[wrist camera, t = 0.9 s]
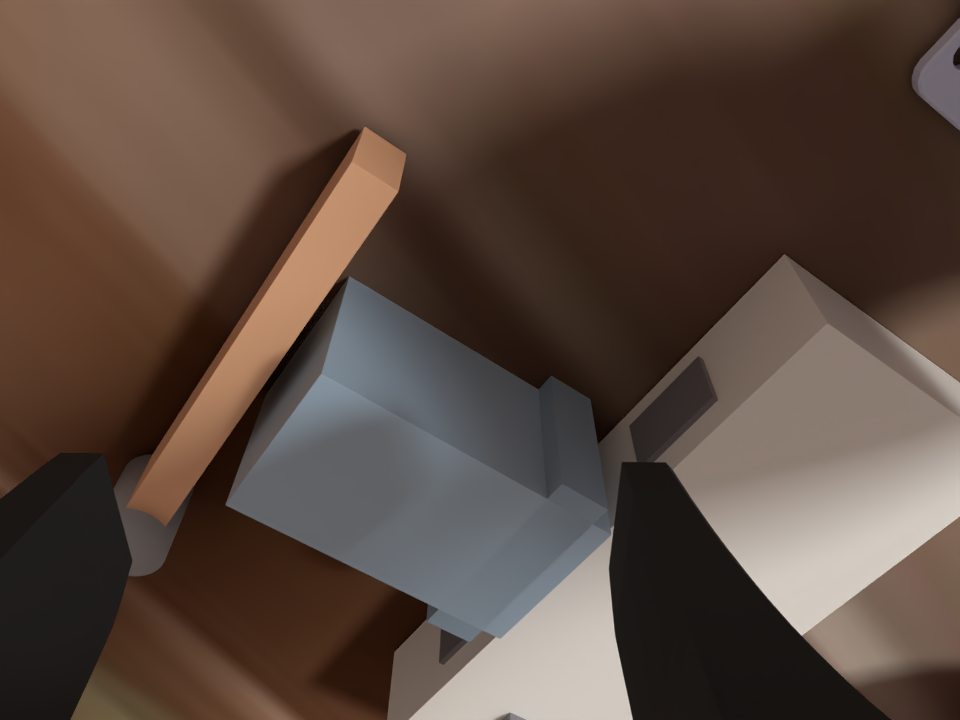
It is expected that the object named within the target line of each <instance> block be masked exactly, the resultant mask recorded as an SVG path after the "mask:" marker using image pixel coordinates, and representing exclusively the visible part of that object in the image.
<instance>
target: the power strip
mask: <svg viewBox="0 0 960 720" xmlns="http://www.w3.org/2000/svg"><path fill="white" fill-rule="evenodd" d="M598 449H599V455H600V462H601V468H602V474H603V480H604V486H605V493H606V499H607V505H608V516H609V522H610V528H611V536H610V537H609V538H608V539H607V540H606V541H604V542H603V543H602V544H601V545H600V546H599V547H598V548H597V549H596V550H595V551H594V552H593V553H592V554H591V555H589V556H588V557H587V558H586V559H585V560H584V561H583V562H582V563H581V564H580V565H579V566H578V567H577V568H576V569H575V570H573V571H572V572H571V573H570V574H569V575H568V576H567V577H566V578H565V579H564V580H563V581H562V582H561V583H560V584H559V585H557V586H556V587H555V588H554V589H553V590H552V591H551V592H550V593H549V594H548V595H547V596H546V597H545V598H544V599H543V600H541V601H540V602H539V603H538V604H537V605H536V606H535V607H534V608H533V609H532V610H531V611H530V612H529V613H528V614H527V615H525V616H524V617H523V618H522V619H521V620H520V621H519V622H518V623H517V624H516V625H515V626H514V627H513V628H512V629H511V630H509V631H508V632H507V633H506V634H505V635H504V636H503V637H502V638H501V639H499V638H497V637H495V636H493V635H491V634H489V633H487V632H485V631H483V630H482V631H481V632H480V633H479V634H478V635H477V636H476V637H475V638H474V639H473V640H472V641H471V642H468V641H466V640H464V639H462V638H460V637H458V636H456V635H453V634H451V633H449V632H447V631H445V630H443V629H441V628H439V627H437V626H435V625H433V624H430V623H428V622H427V619H426V620H425V621H424V622H423V623H422V624H421V625H420V626H419V628H418V629H417V630H416V631H415V632H414V633H413V634H412V635H411V636H410V637H409V638H408V639H407V640H406V641H405V642H404V643H403V644H402V645H401V646H400V647H399V648H398V649H397V650H396V651H395V652H394V660H393V670H392V679H391V688H390V697H389V706H388V716H387V720H633V718H632V714H631V709H630V704H629V700H628V695H627V690H626V686H625V681H624V676H623V671H622V667H621V662H620V657H619V652H618V648H617V643H616V638H615V631H614V621H613V611H612V600H611V589H610V578H609V562H610V553H611V545H612V537H613V529H614V521H615V513H616V505H617V497H618V489H619V481H620V473H621V465H622V462H666V463H667V464H668V465H669V466H670V467H671V468H672V469H673V471H674V472H675V474H676V476H677V477H678V479H679V480H680V482H681V483H682V485H683V486H684V488H685V489H686V491H687V492H688V494H689V495H690V497H691V498H692V500H693V501H694V503H695V504H696V506H697V507H698V508H699V510H700V511H701V513H702V514H703V516H704V517H705V518H706V520H707V521H708V523H709V524H710V525H711V527H712V528H713V530H714V531H715V532H716V534H717V535H718V536H719V538H720V539H721V540H722V542H723V543H724V544H725V546H726V547H727V548H728V550H729V551H730V552H731V553H732V555H733V556H734V557H735V558H736V560H737V561H738V562H739V563H740V565H741V566H742V567H743V569H744V570H745V571H746V572H747V574H748V575H749V576H750V577H751V579H752V580H753V581H754V582H755V584H756V585H757V586H758V587H759V588H760V590H761V591H762V592H763V593H764V594H765V596H766V597H767V598H768V599H769V600H770V601H771V602H772V604H773V605H774V606H775V607H776V608H777V609H778V610H779V611H780V613H781V614H782V615H783V616H784V617H785V618H786V619H787V621H788V622H789V623H790V624H791V625H792V626H793V627H794V628H795V629H796V630H797V631H798V632H799V634H800V635H801V636H802V635H803V634H804V633H806V632H807V631H808V630H810V629H811V628H812V627H814V626H815V625H816V624H817V623H819V622H820V621H821V620H823V619H824V618H825V617H827V616H828V615H829V614H831V613H832V612H833V611H835V610H836V609H837V608H839V607H840V606H841V605H843V604H844V603H845V602H847V601H848V600H849V599H851V598H852V597H853V596H855V595H856V594H857V593H859V592H860V591H861V590H863V589H864V588H865V587H867V586H868V585H869V584H871V583H872V582H873V581H875V580H876V579H877V578H878V577H880V576H881V575H882V574H884V573H885V572H886V571H888V570H889V569H890V568H892V567H893V566H894V565H896V564H897V563H898V562H900V561H901V560H902V559H904V558H905V557H906V556H908V555H909V554H910V553H912V552H913V551H914V550H916V549H917V548H918V547H920V546H921V545H922V544H924V543H925V542H926V541H928V540H929V539H930V538H932V537H933V536H934V535H936V534H937V533H938V532H939V531H941V530H942V529H943V528H945V527H946V526H947V525H949V524H950V523H951V522H953V521H954V520H955V519H957V518H958V517H959V516H960V383H959V382H958V381H957V380H955V379H954V378H953V377H951V376H950V375H949V374H947V373H946V372H944V371H943V370H942V369H940V368H939V367H938V366H936V365H935V364H934V363H932V362H931V361H929V360H928V359H927V358H925V357H924V356H923V355H921V354H920V353H919V352H917V351H916V350H914V349H913V348H912V347H910V346H909V345H908V344H906V343H905V342H903V341H902V340H901V339H899V338H898V337H897V336H895V335H894V334H893V333H891V332H890V331H888V330H887V329H886V328H884V327H883V326H882V325H880V324H879V323H878V322H876V321H875V320H873V319H872V318H871V317H869V316H868V315H867V314H865V313H864V312H863V311H861V310H860V309H858V308H857V307H856V306H854V305H853V304H852V303H850V302H849V301H848V300H846V299H845V298H843V297H842V296H841V295H839V294H838V293H837V292H835V291H834V290H832V289H831V288H830V287H828V286H827V285H826V284H824V283H823V282H822V281H820V280H819V279H817V278H816V277H815V276H813V275H812V274H811V273H809V272H808V271H807V270H805V269H804V268H802V267H801V266H800V265H798V264H797V263H796V262H794V261H793V260H792V259H790V258H789V257H787V256H786V255H785V254H784V255H783V256H782V257H781V258H780V259H779V260H778V261H777V262H776V263H775V264H774V265H773V266H772V267H771V268H770V269H769V270H768V271H767V272H766V273H765V274H764V275H763V276H762V277H761V278H760V279H759V280H758V282H757V283H756V284H755V285H754V286H753V287H752V288H751V289H750V290H749V291H748V292H747V293H746V294H745V295H744V296H743V297H742V298H741V299H740V300H739V301H738V302H737V303H736V304H735V305H734V306H733V307H732V308H731V309H730V310H729V311H728V312H727V313H726V314H725V315H724V316H723V317H722V318H721V319H720V320H719V321H718V322H717V323H716V324H715V325H714V326H713V327H712V328H711V329H710V331H709V332H708V333H707V334H706V335H705V336H704V337H703V338H702V339H701V340H700V341H699V342H698V343H697V344H696V345H695V346H694V347H693V348H692V349H691V350H690V351H689V352H688V353H687V354H686V355H685V356H684V357H683V358H682V359H681V360H680V361H679V362H678V363H677V364H676V365H675V366H674V367H673V368H672V369H671V370H670V371H669V372H668V373H667V374H666V375H665V376H664V377H663V378H662V379H661V381H660V382H659V383H658V384H657V385H656V386H655V387H654V388H653V389H652V390H651V391H650V392H649V393H648V394H647V395H646V396H645V397H644V398H643V399H642V400H641V401H640V402H639V403H638V404H637V405H636V406H635V407H634V408H633V409H632V410H631V411H630V412H629V413H628V414H627V415H626V416H625V417H624V418H623V419H622V420H621V421H620V422H619V423H618V424H617V425H616V426H615V427H614V428H613V430H612V431H611V432H610V433H609V434H608V435H607V436H606V437H605V438H604V439H603V440H602V441H601V442H600V443H599V444H598Z"/></svg>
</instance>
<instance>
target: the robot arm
mask: <svg viewBox="0 0 960 720" xmlns="http://www.w3.org/2000/svg"><path fill="white" fill-rule="evenodd" d="M959 47H960V18H959V19H958V20H957V21H956V22H955V23H954V24H953V25H952V26H951V27H950V28H949V29H948V30H947V31H946V33H945V34H944V35H943V36H942V37H941V38H940V39H939V40H938V41H937V42H936V43H935V44H934V45H933V46H932V47H931V48H930V49H929V50H928V52H927V53H926V54H925V55H924V56H923V57H922V58H921V59H920V61H919V62H918V63H917V65H916V66H915V68H914V71H913V75H912V86H913V89H914V90H915V92H916V93H917V95H918V96H920V97H921V98H922V99H923V100H924V101H925V102H927V103H928V104H929V105H930V106H931V107H932V108H934V109H935V110H936V111H937V112H938V113H939V114H941V115H942V116H943V117H944V118H945V119H946V120H947V121H949V122H950V123H951V124H952V125H953V126H954V127H956V128H957V129H958V130H959V131H960V65H954V64H953V55H954V54H955V52H956V51H957V49H958V48H959ZM132 561H133V560H132V557H131V553H130V549H129V546H128V542H127V538H126V534H125V531H124V527H123V523H122V519H121V516H120V512H119V508H118V504H117V501H116V497H115V493H114V489H113V486H112V482H111V478H110V475H109V471H108V467H107V463H106V460H105V456H104V454H89V453H60V454H58V455H57V456H56V457H54V458H53V459H51V460H50V461H49V462H47V463H46V464H45V465H43V466H42V467H41V468H39V469H38V470H37V471H36V472H34V473H33V474H32V475H30V476H29V477H28V478H27V479H25V480H24V481H23V482H22V483H20V484H19V485H18V486H16V487H15V488H14V489H13V490H11V491H10V492H9V493H8V494H6V495H5V496H4V497H3V498H1V499H0V720H70V719H71V717H72V715H73V713H74V711H75V708H76V706H77V704H78V702H79V700H80V698H81V695H82V693H83V691H84V689H85V687H86V685H87V683H88V680H89V678H90V676H91V674H92V672H93V669H94V667H95V665H96V663H97V661H98V658H99V656H100V654H101V652H102V650H103V647H104V645H105V643H106V641H107V638H108V636H109V634H110V632H111V629H112V627H113V624H114V621H115V618H116V615H117V611H118V608H119V605H120V602H121V599H122V596H123V592H124V589H125V585H126V582H127V579H128V575H129V572H130V568H131V565H132ZM609 578H610V589H611V600H612V611H613V621H614V631H615V638H616V643H617V648H618V652H619V657H620V662H621V667H622V671H623V676H624V681H625V686H626V690H627V695H628V700H629V704H630V709H631V714H632V718H633V720H891V719H890V718H889V717H887V716H886V715H885V714H884V713H883V712H881V711H880V710H879V709H878V708H877V707H875V706H874V705H873V704H872V703H871V702H869V701H868V700H867V699H866V698H865V697H864V696H863V695H862V694H861V693H859V692H858V691H857V690H856V689H855V688H854V687H853V686H852V685H851V684H850V683H849V682H847V681H846V680H845V679H844V678H843V677H842V676H841V675H840V674H839V673H838V672H837V671H836V670H835V669H834V668H833V667H832V666H831V665H830V664H829V663H828V662H827V661H826V660H825V659H824V658H823V657H822V656H821V655H820V654H819V653H818V652H817V651H816V650H815V649H814V648H813V647H812V646H811V645H810V644H809V643H808V642H807V641H806V640H805V639H804V638H803V637H802V636H801V635H800V634H799V632H798V631H797V630H796V629H795V628H794V627H793V626H792V625H791V624H790V623H789V622H788V621H787V619H786V618H785V617H784V616H783V615H782V614H781V613H780V611H779V610H778V609H777V608H776V607H775V606H774V605H773V604H772V602H771V601H770V600H769V599H768V598H767V597H766V596H765V594H764V593H763V592H762V591H761V590H760V588H759V587H758V586H757V585H756V584H755V582H754V581H753V580H752V579H751V577H750V576H749V575H748V574H747V572H746V571H745V570H744V569H743V567H742V566H741V565H740V563H739V562H738V561H737V560H736V558H735V557H734V556H733V555H732V553H731V552H730V551H729V550H728V548H727V547H726V546H725V544H724V543H723V542H722V540H721V539H720V538H719V536H718V535H717V534H716V532H715V531H714V530H713V528H712V527H711V525H710V524H709V523H708V521H707V520H706V518H705V517H704V516H703V514H702V513H701V511H700V510H699V508H698V507H697V506H696V504H695V503H694V501H693V500H692V498H691V497H690V495H689V494H688V492H687V491H686V489H685V488H684V486H683V485H682V483H681V482H680V480H679V479H678V477H677V476H676V474H675V472H674V471H673V469H672V468H671V467H670V466H669V465H668V464H667V463H666V462H622V465H621V473H620V481H619V489H618V497H617V505H616V513H615V521H614V529H613V537H612V545H611V553H610V562H609Z"/></svg>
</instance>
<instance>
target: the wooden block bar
mask: <svg viewBox="0 0 960 720" xmlns="http://www.w3.org/2000/svg"><path fill="white" fill-rule="evenodd" d="M406 155H407V154H405V153H404V152H402V151H401V150H399V149H398V148H396V147H395V146H393V145H392V144H390V143H389V142H387V141H386V140H384V139H383V138H381V137H380V136H378V135H377V134H375V133H374V132H372V131H371V130H369V129H368V128H366V127H364V128H363V130H362V131H361V133H360V134H359V136H358V138H357V139H356V141H355V142H354V144H353V145H352V147H351V148H350V150H349V151H348V153H347V155H346V156H345V158H344V159H343V161H342V162H341V164H340V165H339V167H338V168H337V170H336V172H335V173H334V175H333V176H332V178H331V179H330V181H329V182H328V184H327V185H326V187H325V189H324V190H323V192H322V193H321V195H320V196H319V198H318V199H317V201H316V202H315V204H314V206H313V207H312V209H311V210H310V212H309V213H308V215H307V216H306V218H305V219H304V221H303V223H302V224H301V226H300V227H299V229H298V230H297V232H296V233H295V235H294V236H293V238H292V240H291V241H290V243H289V244H288V246H287V247H286V249H285V250H284V252H283V253H282V255H281V257H280V258H279V260H278V261H277V263H276V264H275V266H274V267H273V269H272V270H271V272H270V274H269V275H268V277H267V278H266V280H265V281H264V283H263V284H262V286H261V287H260V289H259V291H258V292H257V294H256V295H255V297H254V298H253V300H252V301H251V303H250V304H249V306H248V308H247V309H246V311H245V312H244V314H243V315H242V317H241V318H240V320H239V321H238V323H237V325H236V326H235V328H234V329H233V331H232V332H231V334H230V335H229V337H228V338H227V340H226V342H225V343H224V345H223V346H222V348H221V349H220V351H219V352H218V354H217V355H216V357H215V359H214V360H213V362H212V363H211V365H210V366H209V368H208V369H207V371H206V372H205V374H204V376H203V377H202V379H201V380H200V382H199V383H198V385H197V386H196V388H195V389H194V391H193V393H192V394H191V396H190V397H189V399H188V400H187V402H186V403H185V405H184V406H183V408H182V410H181V411H180V413H179V414H178V416H177V417H176V419H175V420H174V422H173V423H172V425H171V427H170V428H169V430H168V431H167V433H166V434H165V436H164V437H163V439H162V440H161V442H160V444H159V445H158V447H157V448H156V450H155V451H154V453H153V454H148V455H142V456H138V457H136V458H134V459H132V460H131V461H130V462H129V463H128V464H127V465H126V466H125V468H124V470H123V472H122V474H121V476H120V478H119V479H118V481H117V483H116V485H115V487H114V493H115V497H116V501H117V504H118V508H119V512H120V516H121V519H122V523H123V527H124V531H125V534H126V538H127V542H128V546H129V549H130V553H131V557H132V560H133V561H132V565H131V568H130V572H129V575H128V576H144V575H148V574H151V573H153V572H155V571H157V570H158V569H159V568H160V567H161V566H162V565H163V563H164V562H165V559H166V557H167V554H168V552H169V550H170V547H171V545H172V542H173V540H174V537H175V535H176V533H177V530H178V528H179V525H180V523H181V521H182V518H183V516H184V513H185V511H186V509H187V506H188V504H189V501H190V499H191V497H192V494H193V491H194V485H195V483H196V482H197V481H198V479H199V478H200V476H201V475H202V473H203V472H204V471H205V469H206V468H207V466H208V465H209V463H210V462H211V460H212V459H213V458H214V456H215V455H216V453H217V452H218V450H219V449H220V448H221V446H222V445H223V443H224V442H225V440H226V439H227V437H228V436H229V435H230V433H231V432H232V430H233V429H234V427H235V426H236V424H237V423H238V422H239V420H240V419H241V417H242V416H243V414H244V413H245V412H246V410H247V409H248V407H249V406H250V404H251V403H252V401H253V400H254V399H255V397H256V396H257V394H258V393H259V391H260V390H261V389H262V387H263V386H264V384H265V383H266V381H267V380H268V378H269V377H270V376H271V374H272V373H273V371H274V370H275V368H276V367H277V366H278V364H279V363H280V361H281V360H282V358H283V357H284V355H285V354H286V353H287V351H288V350H289V348H290V347H291V345H292V344H293V343H294V341H295V340H296V338H297V337H298V335H299V334H300V332H301V331H302V330H303V328H304V327H305V325H306V324H307V322H308V321H309V320H310V318H311V317H312V315H313V314H314V312H315V311H316V309H317V308H318V307H319V305H320V304H321V302H322V301H323V299H324V298H325V297H326V295H327V294H328V292H329V291H330V289H331V288H332V286H333V285H334V284H335V282H336V281H337V279H338V278H339V276H340V275H341V273H342V272H343V271H344V269H345V268H346V266H347V265H348V263H349V262H350V261H351V259H352V258H353V256H354V255H355V253H356V252H357V250H358V249H359V248H360V246H361V245H362V243H363V242H364V240H365V239H366V238H367V236H368V235H369V233H370V232H371V230H372V229H373V227H374V226H375V225H376V223H377V222H378V220H379V219H380V217H381V216H382V215H383V213H384V212H385V210H386V209H387V207H388V206H389V204H390V203H391V202H392V200H393V199H394V197H395V196H396V194H397V193H398V191H399V187H400V182H401V178H402V173H403V169H404V164H405V159H406Z"/></svg>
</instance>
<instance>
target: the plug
mask: <svg viewBox="0 0 960 720" xmlns="http://www.w3.org/2000/svg"><path fill="white" fill-rule="evenodd" d="M226 506H228V507H230V508H232V509H234V510H236V511H238V512H240V513H242V514H244V515H246V516H249V517H251V518H253V519H255V520H257V521H259V522H261V523H263V524H265V525H267V526H269V527H271V528H273V529H275V530H277V531H279V532H281V533H283V534H285V535H288V536H290V537H292V538H294V539H296V540H298V541H300V542H302V543H304V544H306V545H308V546H310V547H312V548H314V549H316V550H318V551H320V552H322V553H324V554H327V555H329V556H331V557H333V558H335V559H337V560H339V561H341V562H343V563H345V564H347V565H349V566H351V567H353V568H355V569H357V570H359V571H361V572H363V573H366V574H368V575H370V576H372V577H374V578H376V579H378V580H380V581H382V582H384V583H386V584H388V585H390V586H392V587H394V588H396V589H398V590H400V591H402V592H405V593H407V594H409V595H411V596H413V597H415V598H417V599H419V600H421V601H423V602H425V603H427V604H428V609H427V622H428V623H430V624H433V625H435V626H437V627H439V628H441V629H443V630H445V631H447V632H449V633H451V634H453V635H456V636H458V637H460V638H462V639H464V640H466V641H468V642H471V641H472V640H473V639H474V638H475V637H476V636H477V635H478V634H479V633H480V632H481V631H482V630H483V631H485V632H487V633H489V634H491V635H493V636H495V637H497V638H499V639H501V638H502V637H503V636H504V635H505V634H506V633H507V632H508V631H509V630H511V629H512V628H513V627H514V626H515V625H516V624H517V623H518V622H519V621H520V620H521V619H522V618H523V617H524V616H525V615H527V614H528V613H529V612H530V611H531V610H532V609H533V608H534V607H535V606H536V605H537V604H538V603H539V602H540V601H541V600H543V599H544V598H545V597H546V596H547V595H548V594H549V593H550V592H551V591H552V590H553V589H554V588H555V587H556V586H557V585H559V584H560V583H561V582H562V581H563V580H564V579H565V578H566V577H567V576H568V575H569V574H570V573H571V572H572V571H573V570H575V569H576V568H577V567H578V566H579V565H580V564H581V563H582V562H583V561H584V560H585V559H586V558H587V557H588V556H589V555H591V554H592V553H593V552H594V551H595V550H596V549H597V548H598V547H599V546H600V545H601V544H602V543H603V542H604V541H606V540H607V539H608V538H609V537H610V536H611V528H610V522H609V516H608V505H607V499H606V493H605V486H604V480H603V474H602V468H601V462H600V455H599V449H598V443H597V437H596V431H595V424H594V418H593V412H592V406H591V399H589V398H588V397H586V396H584V395H583V394H581V393H579V392H578V391H576V390H574V389H573V388H571V387H569V386H568V385H566V384H565V383H563V382H561V381H560V380H558V379H556V378H555V377H553V376H550V377H549V379H548V380H547V381H546V382H545V383H544V384H543V385H542V386H541V387H540V389H537V388H535V387H534V386H532V385H530V384H529V383H527V382H525V381H524V380H522V379H520V378H519V377H517V376H515V375H514V374H512V373H510V372H509V371H507V370H505V369H504V368H502V367H500V366H499V365H497V364H495V363H494V362H492V361H490V360H489V359H487V358H485V357H484V356H482V355H480V354H479V353H477V352H475V351H474V350H472V349H470V348H469V347H467V346H465V345H464V344H462V343H460V342H459V341H457V340H455V339H454V338H452V337H450V336H449V335H447V334H445V333H443V332H442V331H440V330H438V329H437V328H435V327H433V326H432V325H430V324H428V323H427V322H425V321H423V320H422V319H420V318H418V317H417V316H415V315H413V314H412V313H410V312H408V311H407V310H405V309H403V308H402V307H400V306H398V305H397V304H395V303H393V302H392V301H390V300H388V299H387V298H385V297H383V296H382V295H380V294H378V293H377V292H375V291H373V290H372V289H370V288H368V287H367V286H365V285H363V284H362V283H360V282H358V281H357V280H355V279H353V278H352V277H350V276H349V277H348V279H347V280H346V282H345V283H344V284H343V286H342V287H341V289H340V290H339V292H338V293H337V294H336V296H335V297H334V299H333V300H332V302H331V303H330V304H329V306H328V307H327V309H326V310H325V312H324V313H323V314H322V316H321V317H320V319H319V320H318V322H317V323H316V324H315V326H314V327H313V329H312V330H311V332H310V333H309V334H308V336H307V337H306V339H305V340H304V342H303V343H302V344H301V346H300V347H299V349H298V350H297V351H296V353H295V354H294V356H293V357H292V359H291V360H290V361H289V363H288V364H287V366H286V367H285V369H284V370H283V371H282V373H281V374H280V376H279V377H278V379H277V380H276V381H275V383H274V384H273V386H272V387H271V389H270V390H269V391H268V393H267V394H266V396H265V398H264V401H263V404H262V406H261V409H260V412H259V415H258V417H257V420H256V423H255V425H254V428H253V431H252V434H251V436H250V439H249V442H248V445H247V447H246V450H245V453H244V456H243V458H242V461H241V464H240V466H239V469H238V472H237V475H236V477H235V480H234V483H233V486H232V488H231V491H230V494H229V496H228V499H227V502H226Z"/></svg>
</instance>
